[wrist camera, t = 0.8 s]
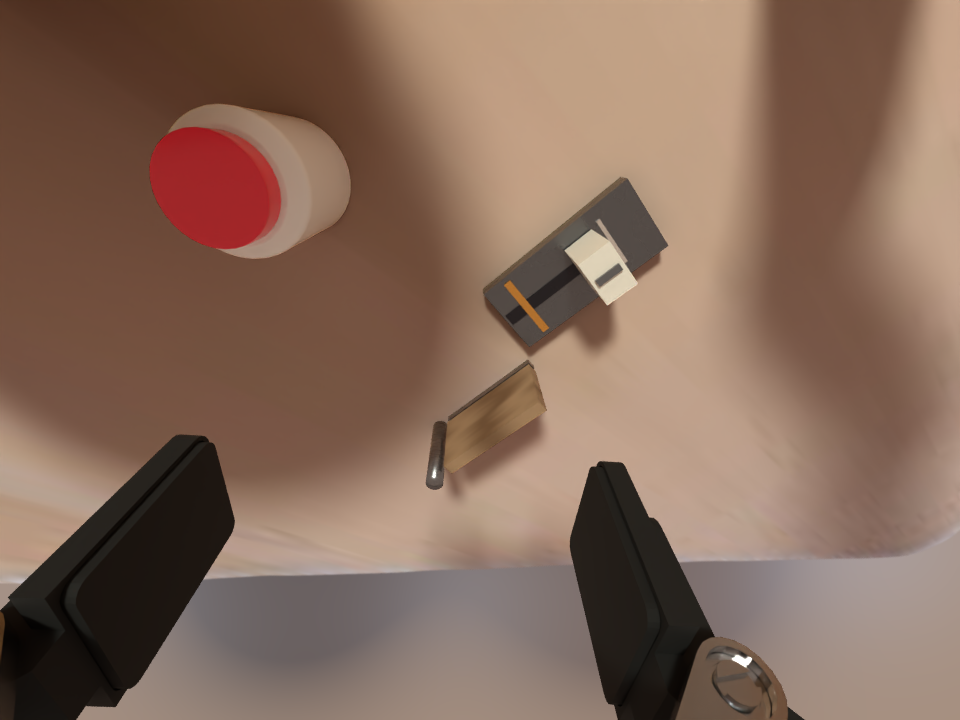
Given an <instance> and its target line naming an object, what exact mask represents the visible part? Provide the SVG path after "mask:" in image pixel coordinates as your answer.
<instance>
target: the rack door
mask: <svg viewBox="0 0 960 720" xmlns="http://www.w3.org/2000/svg"><path fill="white" fill-rule="evenodd" d="M545 411H547V409H546V406H545V403H544V399H543V396H542V392H541V389H540V385H539V382H538V378H537V375H536V372H535V371H534V369H533V368H532V367H531V366H530V365H529V364H528V365H527V366H525V367H524V368H523V369H521V370H520V371H518V372H517V373H516V374H514V375H513V376H511V377H510V378H509V379H507V380H506V381H504V382H503V383H502V384H500V385H499V386H497V387H496V388H495V389H493V390H492V391H491V392H489V393H488V394H486V395H485V396H484V397H482V398H481V399H479V400H478V401H477V402H475V403H474V404H472V405H471V406H470V407H468V408H467V409H465V410H464V411H463V412H461V413H460V414H458V415H457V416H456V417H454V418H453V419H451V420H450V421H449V422H447V433H446V444H445V456H444V467H445V468H446V469H447V470H448V471H449V472H450V473H454V472H455V471H457V470H458V469H460V468H461V467H463V466H464V465H466V464H467V463H469V462H470V461H472V460H473V459H475V458H476V457H478V456H479V455H481V454H482V453H484V452H485V451H487V450H488V449H490V448H491V447H493V446H494V445H496V444H497V443H499V442H500V441H502V440H503V439H505V438H506V437H508V436H509V435H511V434H512V433H514V432H515V431H517V430H518V429H520V428H521V427H523V426H524V425H526V424H527V423H529V422H530V421H532V420H533V419H535V418H536V417H538V416H539V415H541V414H542V413H544V412H545Z"/></svg>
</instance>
